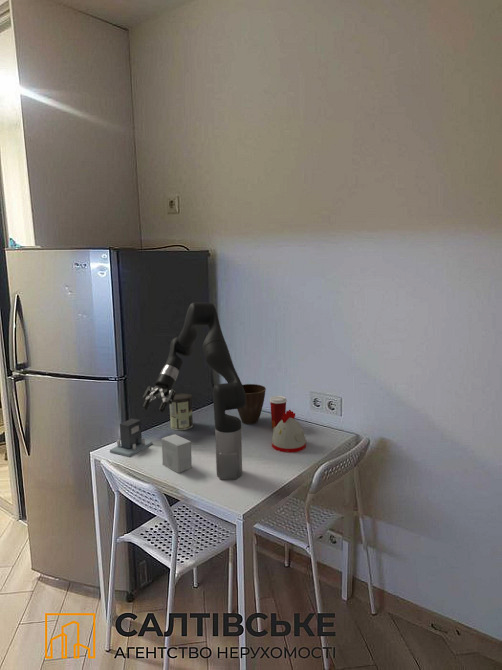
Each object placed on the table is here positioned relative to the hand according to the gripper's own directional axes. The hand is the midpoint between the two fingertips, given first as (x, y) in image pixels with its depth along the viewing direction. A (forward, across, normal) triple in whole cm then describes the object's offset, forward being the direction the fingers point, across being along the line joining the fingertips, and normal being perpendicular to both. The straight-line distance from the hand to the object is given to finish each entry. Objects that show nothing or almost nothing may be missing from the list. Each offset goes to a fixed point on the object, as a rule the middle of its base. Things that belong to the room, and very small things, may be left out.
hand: (152, 410), depth 198 cm
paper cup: (-14, +43, +33) cm, 56 cm away
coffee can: (-3, +3, +21) cm, 21 cm away
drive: (+16, -2, 0) cm, 17 cm away
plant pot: (-16, +28, +34) cm, 47 cm away
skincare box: (+22, +25, -3) cm, 33 cm away
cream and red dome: (-3, +55, +22) cm, 59 cm away
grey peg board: (+17, -2, 0) cm, 17 cm away
